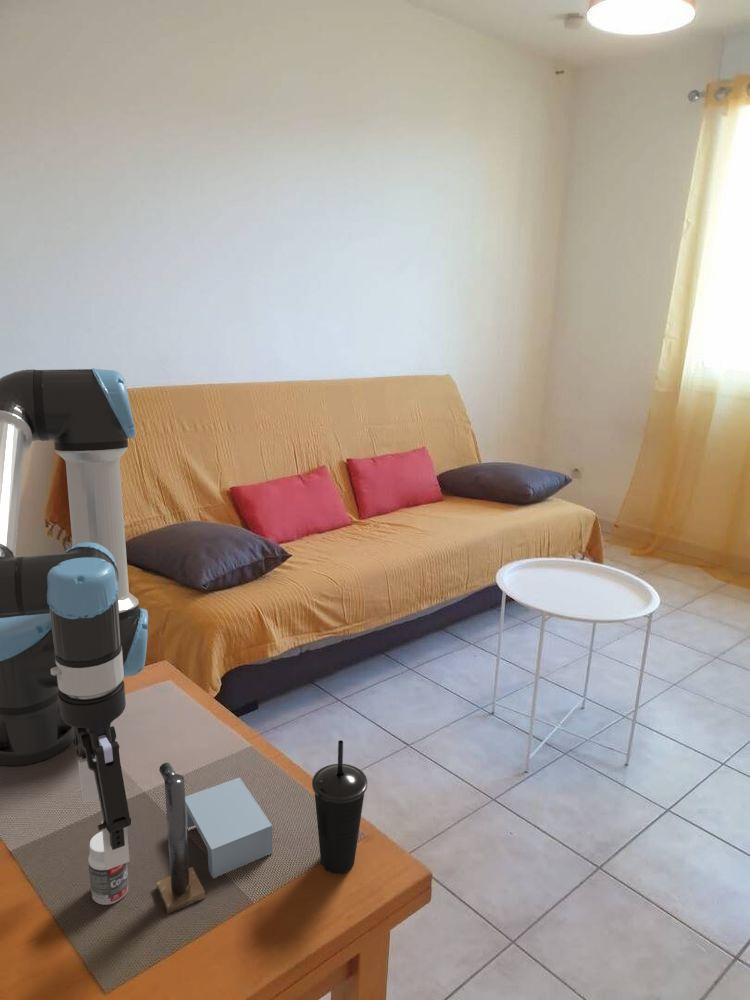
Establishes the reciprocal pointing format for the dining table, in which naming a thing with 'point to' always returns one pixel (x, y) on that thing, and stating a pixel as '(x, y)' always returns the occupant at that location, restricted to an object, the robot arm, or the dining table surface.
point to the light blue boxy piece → (229, 825)
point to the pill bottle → (105, 875)
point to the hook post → (177, 847)
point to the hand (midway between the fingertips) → (104, 829)
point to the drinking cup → (338, 812)
